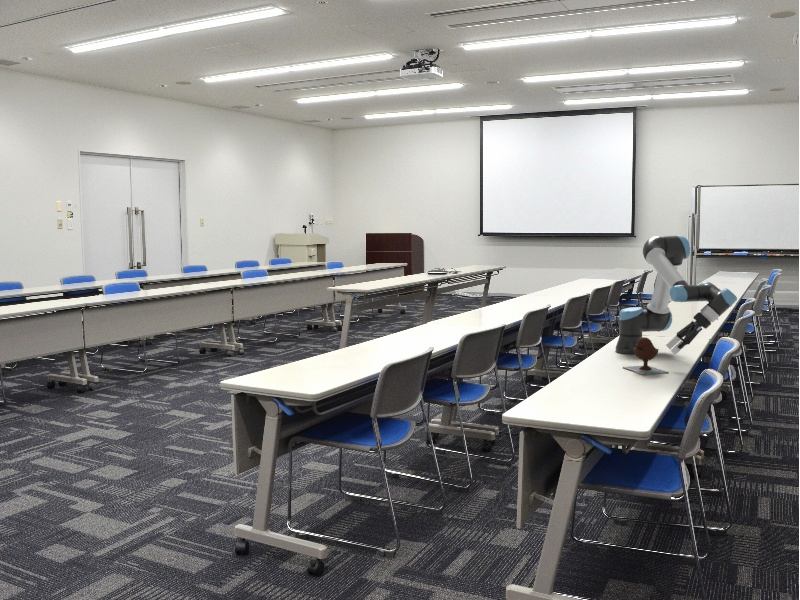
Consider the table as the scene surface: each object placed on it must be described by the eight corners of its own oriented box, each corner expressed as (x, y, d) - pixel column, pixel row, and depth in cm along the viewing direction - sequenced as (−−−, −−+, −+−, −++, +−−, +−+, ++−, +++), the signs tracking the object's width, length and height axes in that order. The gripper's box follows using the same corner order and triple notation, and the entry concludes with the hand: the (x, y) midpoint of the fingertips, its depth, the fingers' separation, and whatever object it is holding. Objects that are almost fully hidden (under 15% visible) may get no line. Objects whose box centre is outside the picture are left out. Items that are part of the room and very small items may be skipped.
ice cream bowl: (659, 371, 322) (660, 338, 321) (634, 371, 324) (634, 338, 323) (656, 367, 332) (657, 335, 331) (631, 366, 335) (632, 335, 333)
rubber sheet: (622, 368, 335) (622, 366, 335) (647, 366, 338) (647, 365, 338) (642, 375, 319) (642, 373, 318) (668, 373, 321) (668, 371, 321)
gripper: (718, 327, 308) (681, 361, 313) (706, 319, 332) (671, 350, 337) (705, 315, 309) (668, 349, 313) (694, 307, 333) (659, 339, 338)
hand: (670, 350), depth 325 cm, fingers open, 13 cm apart
